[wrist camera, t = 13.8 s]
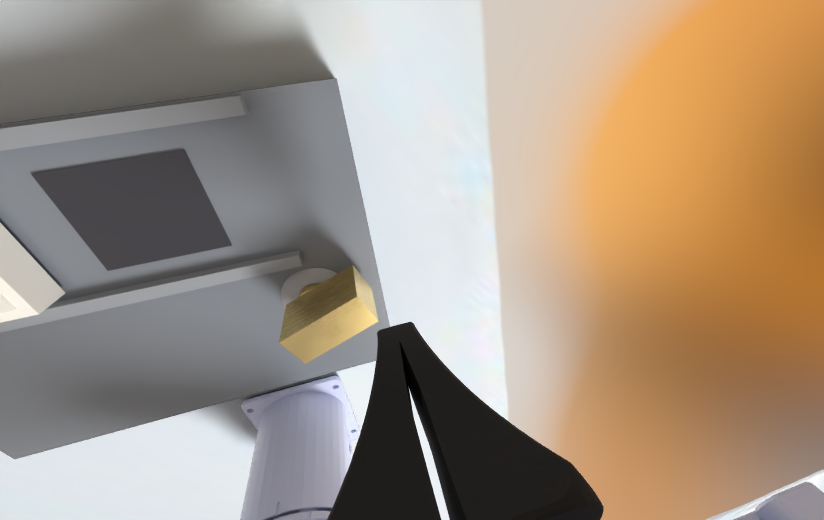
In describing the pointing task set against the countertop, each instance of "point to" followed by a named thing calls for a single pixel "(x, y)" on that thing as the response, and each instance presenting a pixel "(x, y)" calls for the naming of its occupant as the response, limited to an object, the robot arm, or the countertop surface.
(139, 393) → the grey slotted tray
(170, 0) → the countertop surface
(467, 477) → the robot arm
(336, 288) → the gold metal block
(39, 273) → the cover
